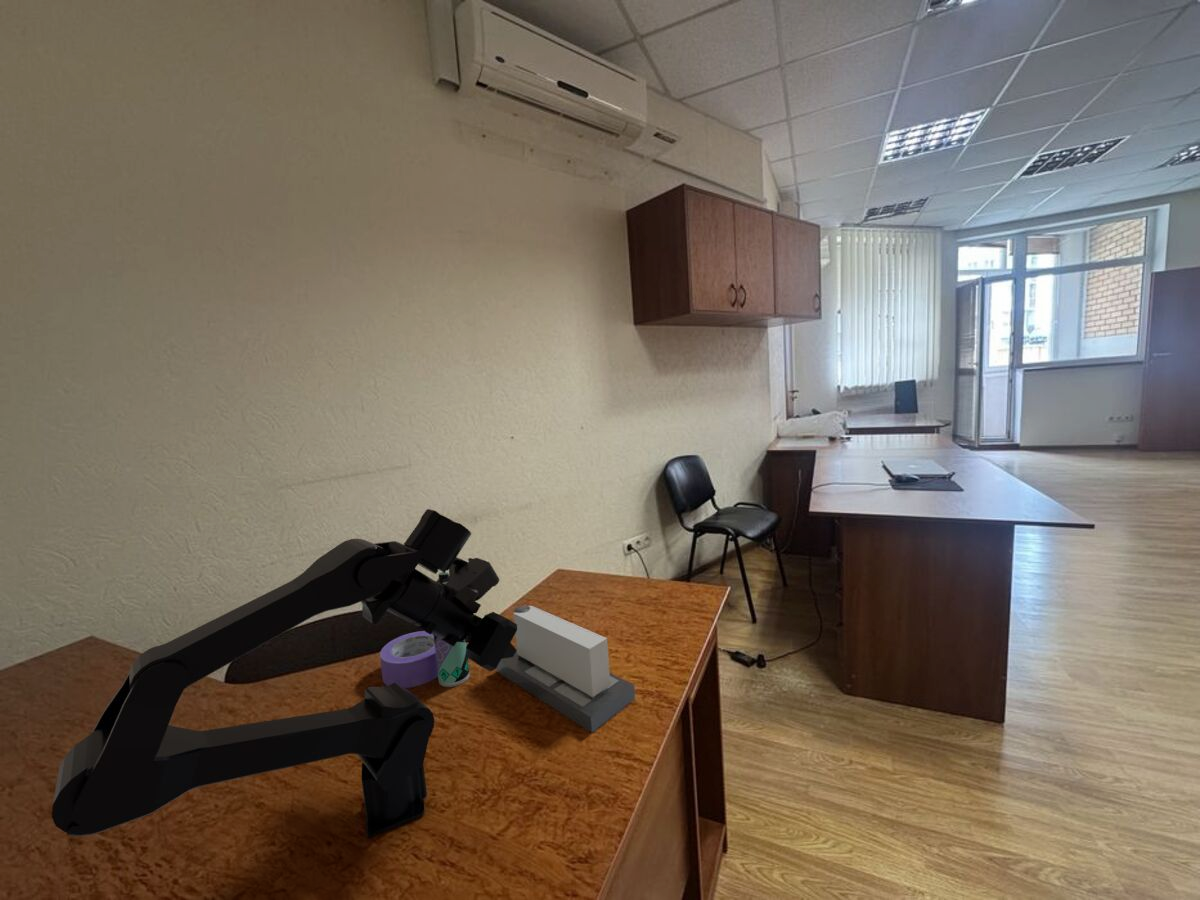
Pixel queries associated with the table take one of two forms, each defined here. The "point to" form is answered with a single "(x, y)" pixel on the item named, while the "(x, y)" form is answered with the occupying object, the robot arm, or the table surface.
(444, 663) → the spray can
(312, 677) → the table surface
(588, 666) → the upright grey slab
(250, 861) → the table surface
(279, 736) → the robot arm
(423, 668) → the tape roll
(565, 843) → the table surface
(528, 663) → the server tray
